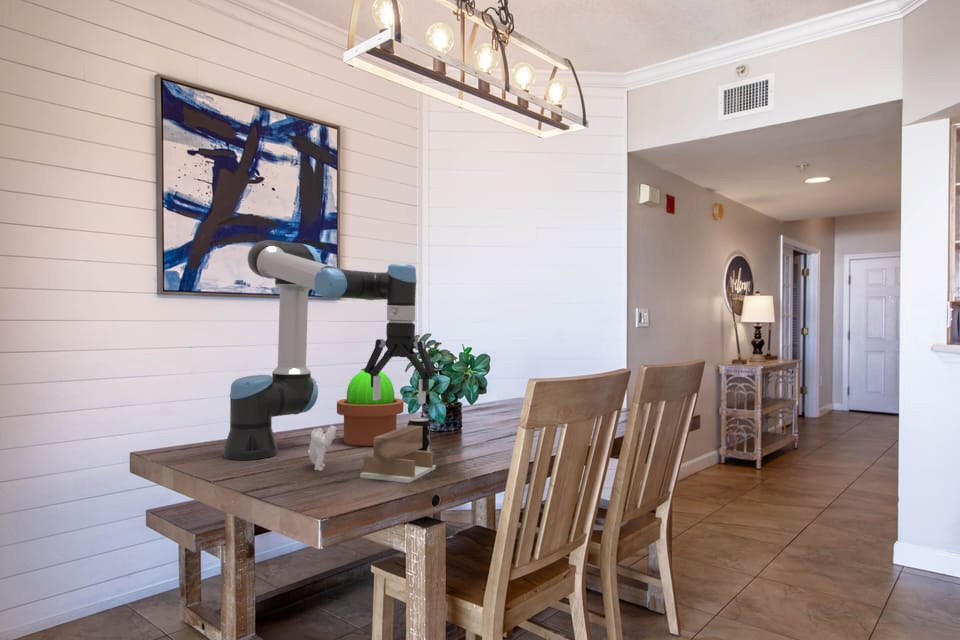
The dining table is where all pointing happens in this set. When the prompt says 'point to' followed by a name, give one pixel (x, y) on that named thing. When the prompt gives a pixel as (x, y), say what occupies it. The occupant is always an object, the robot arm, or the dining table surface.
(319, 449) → the figurine
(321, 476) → the dining table surface
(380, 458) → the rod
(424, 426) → the beverage can
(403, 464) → the rest stand
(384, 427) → the potted cactus
